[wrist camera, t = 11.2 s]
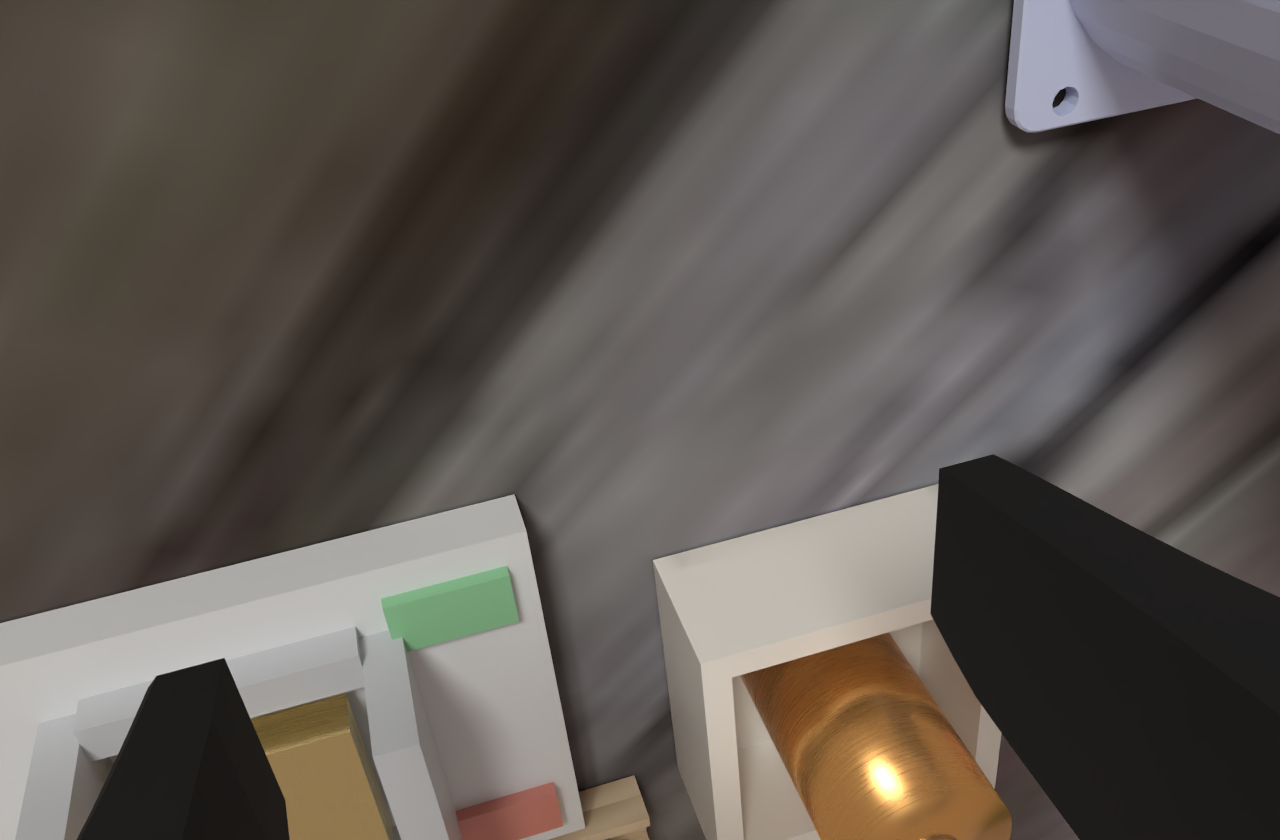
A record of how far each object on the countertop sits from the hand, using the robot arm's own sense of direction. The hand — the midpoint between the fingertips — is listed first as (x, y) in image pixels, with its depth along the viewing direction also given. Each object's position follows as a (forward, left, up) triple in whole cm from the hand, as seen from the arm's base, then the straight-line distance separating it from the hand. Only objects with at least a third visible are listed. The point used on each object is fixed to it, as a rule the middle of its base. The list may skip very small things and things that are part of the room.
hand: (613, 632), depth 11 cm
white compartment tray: (+6, +10, -10) cm, 15 cm away
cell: (-6, +11, -9) cm, 16 cm away
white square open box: (-6, +12, -10) cm, 16 cm away
